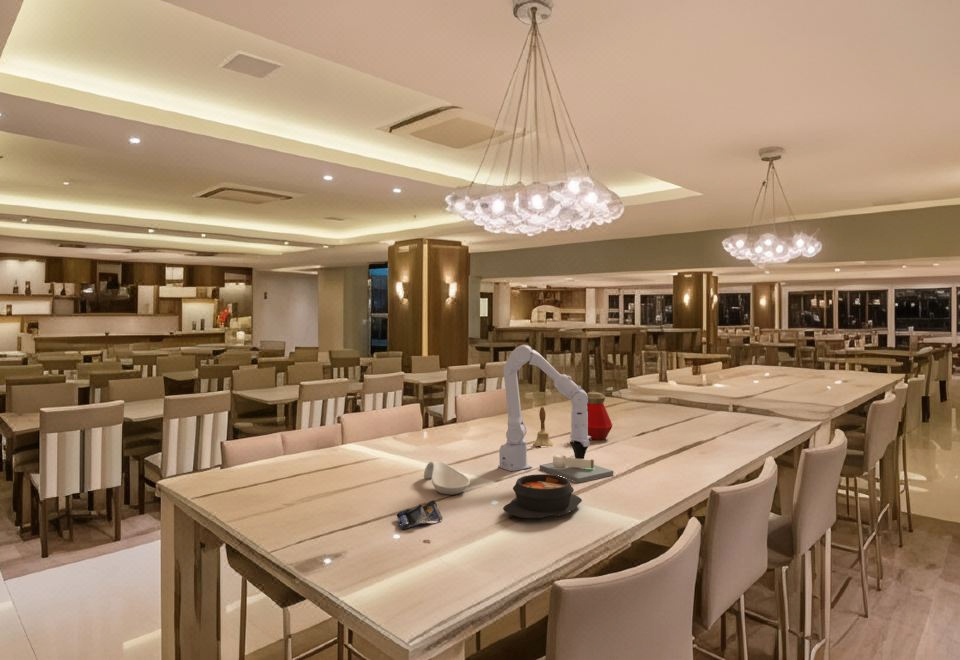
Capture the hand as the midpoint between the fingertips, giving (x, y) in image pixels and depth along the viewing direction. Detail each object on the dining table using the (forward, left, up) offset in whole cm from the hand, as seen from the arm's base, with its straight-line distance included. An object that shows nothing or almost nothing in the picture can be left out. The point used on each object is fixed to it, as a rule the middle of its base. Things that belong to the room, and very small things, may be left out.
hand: (579, 462), depth 204 cm
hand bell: (+14, +37, -3) cm, 40 cm away
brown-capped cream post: (-4, -1, -1) cm, 4 cm away
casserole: (-37, -26, -3) cm, 45 cm away
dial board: (-3, -2, -3) cm, 4 cm away
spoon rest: (-50, +10, -3) cm, 51 cm away
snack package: (-71, -14, -3) cm, 72 cm away
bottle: (+41, +34, -3) cm, 53 cm away
